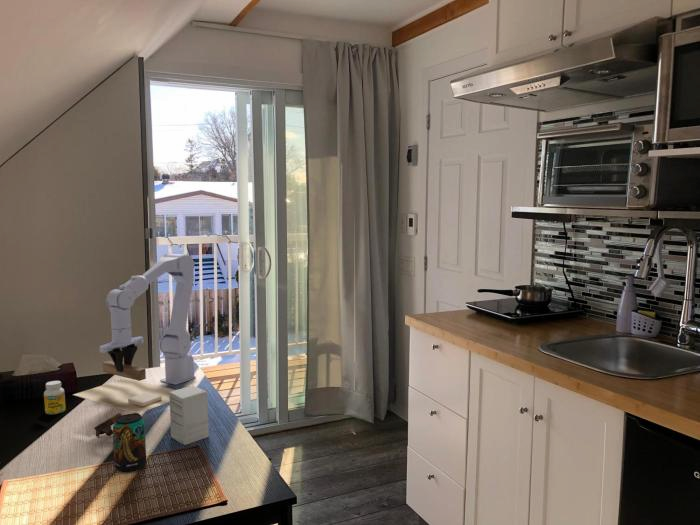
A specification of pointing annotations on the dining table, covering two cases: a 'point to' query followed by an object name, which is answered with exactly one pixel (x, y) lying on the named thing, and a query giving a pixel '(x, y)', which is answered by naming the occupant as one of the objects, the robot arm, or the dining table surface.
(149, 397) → the tile
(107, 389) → the board
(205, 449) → the dining table surface
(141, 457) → the beverage can
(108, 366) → the brown wooden bar
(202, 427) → the supplement box
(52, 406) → the supplement bottle
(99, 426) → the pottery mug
